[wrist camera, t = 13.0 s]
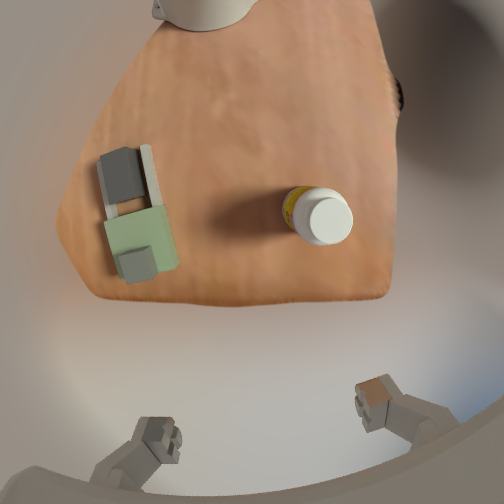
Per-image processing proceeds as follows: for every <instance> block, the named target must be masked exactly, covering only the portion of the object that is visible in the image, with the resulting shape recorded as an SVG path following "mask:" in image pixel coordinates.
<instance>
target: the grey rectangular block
mask: <svg viewBox="0 0 504 504" xmlns="http://www.w3.org/2000/svg"><path fill="white" fill-rule="evenodd" d="M100 160H101V166H102V171H103V176H104V182H105V187H106V191H107V196H108V201H109V205H112V204H117V203H122V202H126V201H129V200H133V199H136V198H139V197H143V196H146V195H147V193H146V189H145V184H144V179H143V175H142V170H141V165H140V159H139V154H138V150H135V149H132V148H128V147H122V148H119V149H117V150H114V151H111V152H109V153H106V154H104V155H101V156H100Z"/></svg>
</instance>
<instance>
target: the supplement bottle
mask: <svg viewBox="0 0 504 504" xmlns="http://www.w3.org/2000/svg"><path fill="white" fill-rule="evenodd" d="M282 213H283V217H284V219H285V221H286V223H287V224H288V225H289V226H290V227H291V228H292V229H293V230H294V231H295V232H296V233H297V234H298V235H299V236H300V237H302V238H303V239H304V240H305V241H307V242H308V243H311V244H313V245H319V246H324V245H329V244H334V243H338V242H340V241H342V240H343V239H345V238H346V237H347V235H348V234H349V233H350V231H351V228H352V223H353V217H352V213H351V210H350V209H349V207H348V206H347V203H346V201H345V200H344V198H343V197H342V196H341V195H340V194H339V193H337V192H336V191H334V190H332V189H329V188H325V187H313V186H300V187H297V188H295V189H293V190H292V191H290V192H289V193H288V194H287V196H286V197H285V199H284V202H283V206H282Z"/></svg>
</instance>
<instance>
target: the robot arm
mask: <svg viewBox="0 0 504 504" xmlns="http://www.w3.org/2000/svg"><path fill="white" fill-rule="evenodd" d="M257 1H259V0H154V4H153V9H152V15H153V17H154V18H155V19H160V20H167V21H169V22H171V23H173V24H174V25H176V26H178V27H180V28H183V29H186V30H191V31H210V30H216V29H220V28H224V27H227V26H229V25H231V24H234V23H235V22H237V21H239V20H240V19H242V18H243V17H244V16H245V15H246V14H247V13H248V12H249V10H250V9H251V7H252V6H253V4H254V3H256V2H257ZM159 8H160V9H159ZM355 391H356V394H357V396H356V397H355V406H356V410H357V412H358V415H359V416H360V417H362V418H363V419H362V423H363V426H364V428H365V430H366V432H367V433H369V432H372V431H375V430H378V429H381V428H384V427H385V428H386V429H388V430H390V431H391V432H393V433H395V434H397V435H398V436H400V437H402V438H403V439H405V440H407V441H409V442H411V443H412V446H411V449H410V451H409V452H408V453H406V454H404V455H401V456H399V457H396V458H394V459H392V460H389V461H387V462H384V463H382V464H379V465H376V466H374V467H371V468H368V469H365V470H362V471H359V472H356V473H353V474H350V475H346V476H343V477H339V478H336V479H332V480H329V481H325V482H320V483H316V484H312V485H307V486H302V487H298V488H292V489H286V490H281V491H273V492H266V493H257V494H248V495H235V496H207V497H206V496H174V495H161V494H151V493H145V492H144V491H143V490H142V489H141V487H142V485H143V484H144V483H145V482H146V481H147V480H148V479H149V478H150V477H151V476H152V474H153V473H154V472H155V471H156V470H157V469H158V468H159V467H160V466H161V464H178V460H179V455H180V452H179V451H178V449H179V448H180V447H181V445H182V435H181V432H180V430H179V428H178V427H176V426H174V423H175V421H174V420H173V418H172V417H141V418H140V419H139V420H138V423H137V425H136V428H135V431H134V433H133V436H132V439H131V441H127V442H126V443H125V444H123V445H122V446H121V447H120V448H118V449H117V450H115V451H114V452H113V453H111V454H110V455H109V456H107V457H106V458H105V459H103V460H102V461H101V462H99V463H98V464H97V465H96V466H95V469H94V471H93V474H92V476H91V479H90V481H89V482H86V481H82V480H79V479H75V478H71V477H68V476H65V475H62V474H59V473H56V472H53V471H50V470H47V469H45V468H42V467H39V466H31V467H29V468H26V469H24V470H22V471H21V472H19V473H17V474H15V475H13V476H12V477H11V478H10V479H9V481H8V482H7V483H6V485H5V486H4V488H3V490H2V491H1V492H0V504H504V395H502V396H501V397H500V398H499V399H497V400H496V401H495V402H493V403H492V404H490V405H489V406H488V407H486V408H485V409H484V410H482V411H481V412H479V413H478V414H476V415H475V416H473V417H472V418H470V419H469V420H467V421H466V422H464V423H462V424H461V425H460V423H459V422H458V421H457V419H456V418H455V417H454V416H453V414H452V413H451V412H450V410H449V409H448V408H445V407H443V406H439V405H437V404H434V403H431V402H428V401H425V400H422V399H419V398H416V397H413V396H410V395H408V394H405V395H403V394H402V392H401V391H400V390H399V388H398V387H397V385H396V384H395V382H394V381H393V380H392V379H391V377H390V375H389V374H385V375H382V376H379V377H377V378H373V379H370V380H368V381H365V382H362V383H359V384H356V386H355Z"/></svg>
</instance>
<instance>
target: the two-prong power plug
mask: <svg viewBox="0 0 504 504" xmlns="http://www.w3.org/2000/svg"><path fill="white" fill-rule="evenodd" d="M140 150H141V155H142V161H143V166H144V171H145V176H146V180H147V185H148V190H149V194H150V199H151V203H152V207H151V208H148V209H144V210H141V211H137V212H134V213H130V214H127V215H123V216H120V217H119V215H118V211H117V207H116V204H112V205H109V201H108V196H107V191H106V187H105V182H104V176H103V171H102V166H101V160H100V161H97V162H96V166H97V172H98V177H99V183H100V188H101V192H102V197H103V202H104V206H105V211H106V215H107V219H108V220H107V221H104V226H105V230H106V233H107V237H108V241H109V244H110V248H111V251H112V255H113V258H114V262H115V265H116V268H117V271H118V274H119V277H120V280H124V279H125V280H126V283H127V284H132V283H137V282H142V281H147V280H151V279H153V278H154V277H155V276H156V275H157V274H158V273H159V272H163V271H167V270H172V269H175V268H176V267H177V266H178V264H179V259H178V256H177V252H176V248H175V244H174V240H173V237H172V233H171V229H170V225H169V221H168V217H167V212H166V208H165V204H163V202H162V198H161V194H160V189H159V185H158V180H157V175H156V170H155V165H154V160H153V155H152V150H151V145H148V144H144V145H141V146H140Z"/></svg>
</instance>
